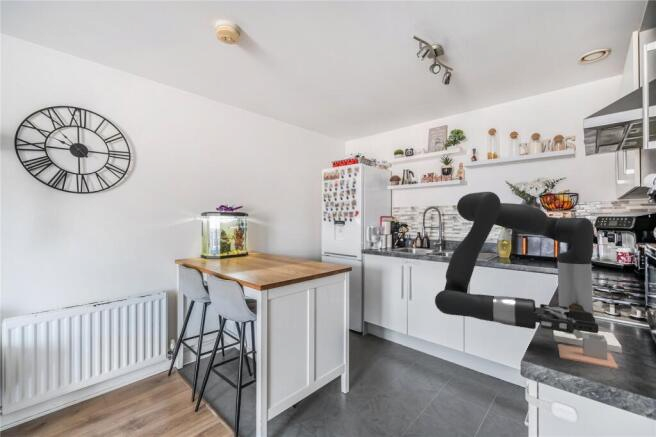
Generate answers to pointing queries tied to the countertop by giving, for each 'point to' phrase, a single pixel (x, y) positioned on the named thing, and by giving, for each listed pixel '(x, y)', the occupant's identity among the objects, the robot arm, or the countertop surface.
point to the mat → (578, 355)
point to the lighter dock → (571, 338)
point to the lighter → (593, 345)
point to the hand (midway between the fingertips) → (594, 322)
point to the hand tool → (579, 309)
